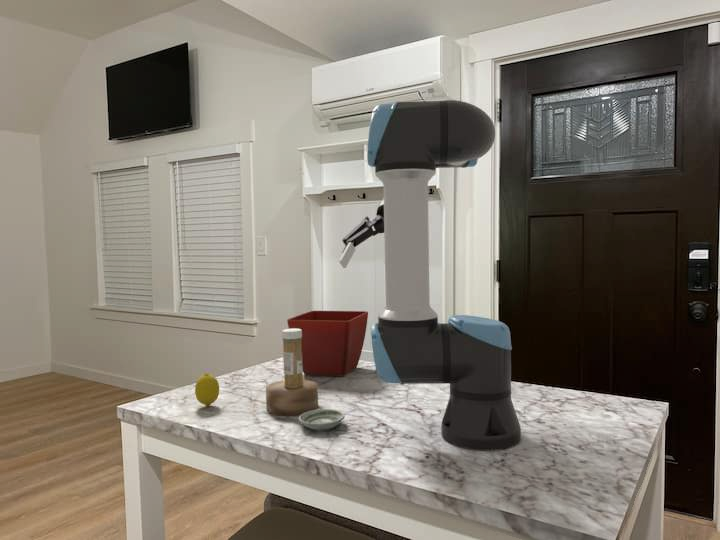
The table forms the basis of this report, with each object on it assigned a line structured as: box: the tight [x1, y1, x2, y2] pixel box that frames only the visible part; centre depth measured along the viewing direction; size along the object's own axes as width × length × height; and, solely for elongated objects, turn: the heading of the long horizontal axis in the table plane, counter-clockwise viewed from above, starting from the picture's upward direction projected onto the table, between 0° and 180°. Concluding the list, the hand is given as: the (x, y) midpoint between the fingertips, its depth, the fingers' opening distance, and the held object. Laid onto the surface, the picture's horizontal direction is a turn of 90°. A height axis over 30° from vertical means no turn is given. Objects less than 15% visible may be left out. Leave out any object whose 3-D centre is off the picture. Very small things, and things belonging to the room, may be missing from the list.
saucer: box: [298, 408, 345, 432], centre depth 111 cm, size 10×10×2 cm
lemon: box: [194, 373, 220, 407], centre depth 126 cm, size 6×6×8 cm
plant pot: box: [286, 310, 369, 377], centre depth 158 cm, size 19×19×17 cm
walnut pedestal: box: [265, 379, 319, 417], centre depth 124 cm, size 12×12×5 cm
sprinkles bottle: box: [281, 328, 304, 389], centre depth 124 cm, size 5×5×13 cm
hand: (364, 264), depth 132 cm, fingers open, 13 cm apart
